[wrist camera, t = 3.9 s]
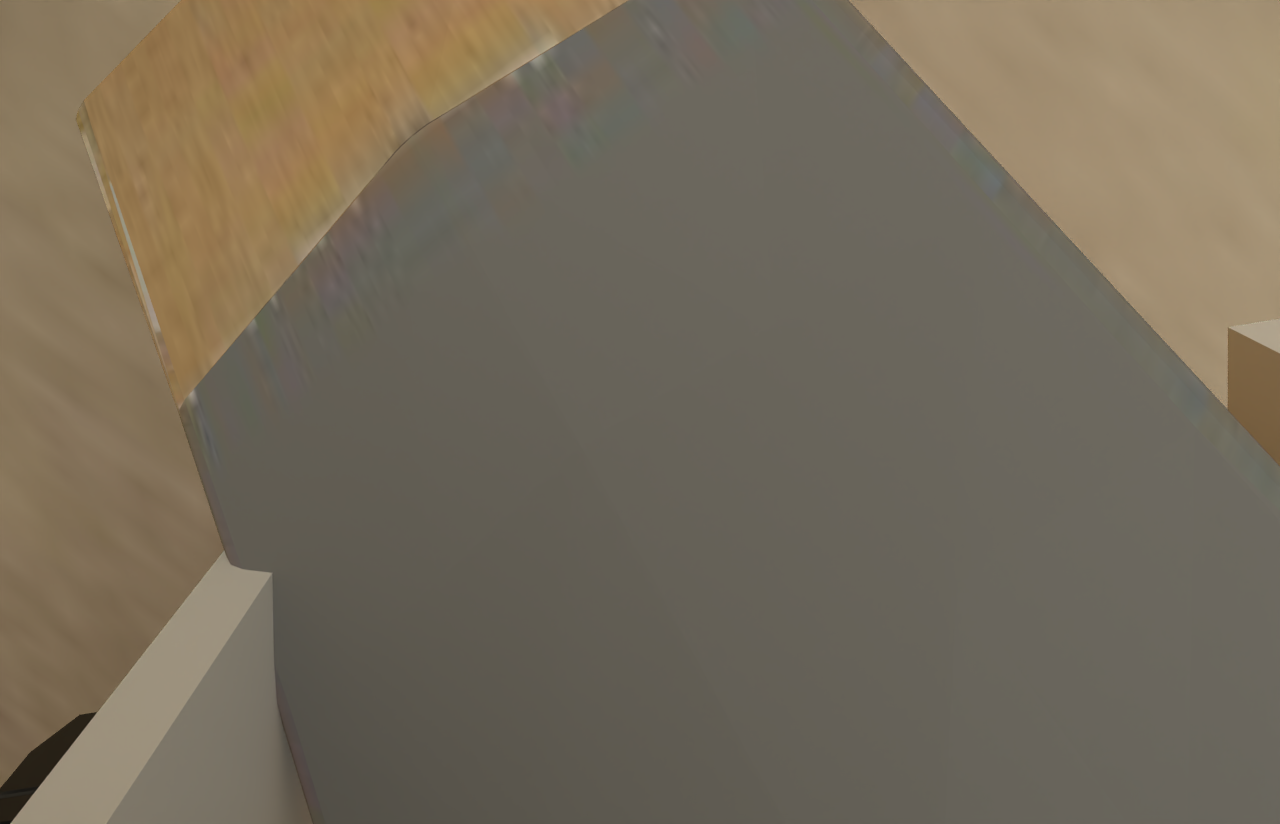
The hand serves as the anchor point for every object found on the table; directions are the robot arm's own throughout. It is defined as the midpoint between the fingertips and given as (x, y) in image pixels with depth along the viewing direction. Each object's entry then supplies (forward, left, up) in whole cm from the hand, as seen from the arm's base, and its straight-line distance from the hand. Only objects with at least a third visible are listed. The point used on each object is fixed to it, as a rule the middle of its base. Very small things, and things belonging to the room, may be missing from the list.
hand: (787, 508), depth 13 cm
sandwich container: (-1, -1, -3) cm, 4 cm away
